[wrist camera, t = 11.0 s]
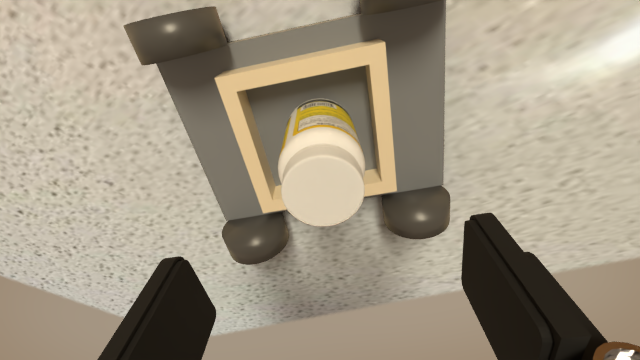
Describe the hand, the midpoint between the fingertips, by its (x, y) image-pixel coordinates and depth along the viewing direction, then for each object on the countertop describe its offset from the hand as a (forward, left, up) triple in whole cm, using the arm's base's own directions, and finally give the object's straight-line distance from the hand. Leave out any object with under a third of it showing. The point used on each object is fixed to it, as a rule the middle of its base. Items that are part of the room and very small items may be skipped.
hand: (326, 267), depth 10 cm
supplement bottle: (0, 0, -13) cm, 13 cm away
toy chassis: (0, 0, -14) cm, 14 cm away
